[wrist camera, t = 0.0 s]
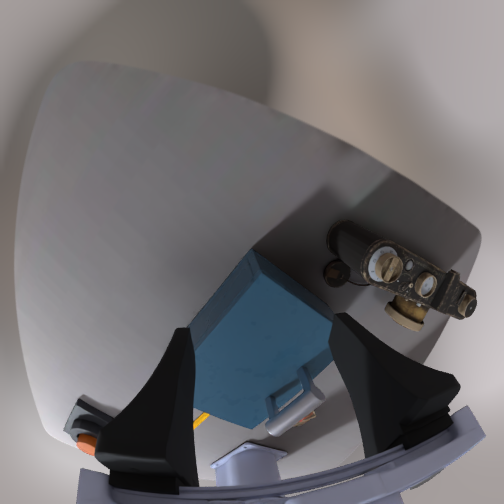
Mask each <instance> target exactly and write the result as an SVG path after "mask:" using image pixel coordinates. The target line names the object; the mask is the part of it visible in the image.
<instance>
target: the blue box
mask: <svg viewBox="0 0 504 504" xmlns="http://www.w3.org/2000/svg"><path fill="white" fill-rule="evenodd" d="M259 270H262V271H264V272H265V273H267V274H268V275H269V276H271V277H272V278H274V279H275V280H276V281H278V282H279V283H281V284H282V285H283V286H285V287H286V288H288V289H289V290H290V291H292V292H293V293H295V294H296V295H297V296H299V297H300V298H302V299H303V300H304V301H306V302H307V303H309V304H310V305H311V306H313V307H314V308H316V309H317V310H318V311H320V312H321V313H323V314H324V315H326V316H327V317H328V318H330V319H331V320H334V315H335V314H334V313H333V311H332V310H331V309H330V308H329V306H328V305H327V304H326V303H325V302H323V301H322V300H321V299H319V298H318V297H317V296H315V295H314V294H313V293H311V292H310V291H309V290H307V289H306V288H305V287H303V286H302V285H300V284H299V283H298V282H296V281H295V280H294V279H292V278H291V277H290V276H288V275H287V274H286V273H284V272H283V271H282V270H280V269H279V268H278V267H276V266H275V265H274V264H272V263H271V262H270V261H268V260H267V259H265V258H264V257H263V256H261V255H260V254H259V253H257V252H256V251H255V250H253V249H252V248H251V249H250V250H249V251H248V253H247V254H246V255H245V256H244V257H243V259H242V260H241V261H240V262H239V264H238V265H237V266H236V267H235V269H234V270H233V271H232V272H231V274H230V275H229V276H228V277H227V278H226V280H225V281H224V282H223V283H222V285H221V286H220V287H219V288H218V290H217V291H216V292H215V293H214V295H213V296H212V297H211V298H210V299H209V301H208V302H207V303H206V304H205V306H204V307H203V308H202V309H201V311H200V312H199V313H198V314H197V316H196V317H195V318H194V319H193V320H192V322H191V323H190V324H189V325H188V327H187V328H189V327H190V332H191V337H192V342H193V347H195V346H196V344H197V343H198V342H199V341H200V340H201V339H202V337H203V336H204V335H205V334H206V333H207V332H208V330H209V329H210V328H211V327H212V326H213V325H214V323H215V322H216V321H217V320H218V319H219V318H220V316H221V315H222V314H223V313H224V312H225V311H226V309H227V308H228V307H229V306H230V305H231V304H232V302H233V301H234V300H235V299H236V298H237V296H238V295H239V294H240V293H241V292H242V290H243V289H244V288H245V287H246V286H247V285H248V283H249V282H250V281H251V280H252V279H253V277H254V276H255V275H256V274H257V273H258V271H259Z"/></svg>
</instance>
